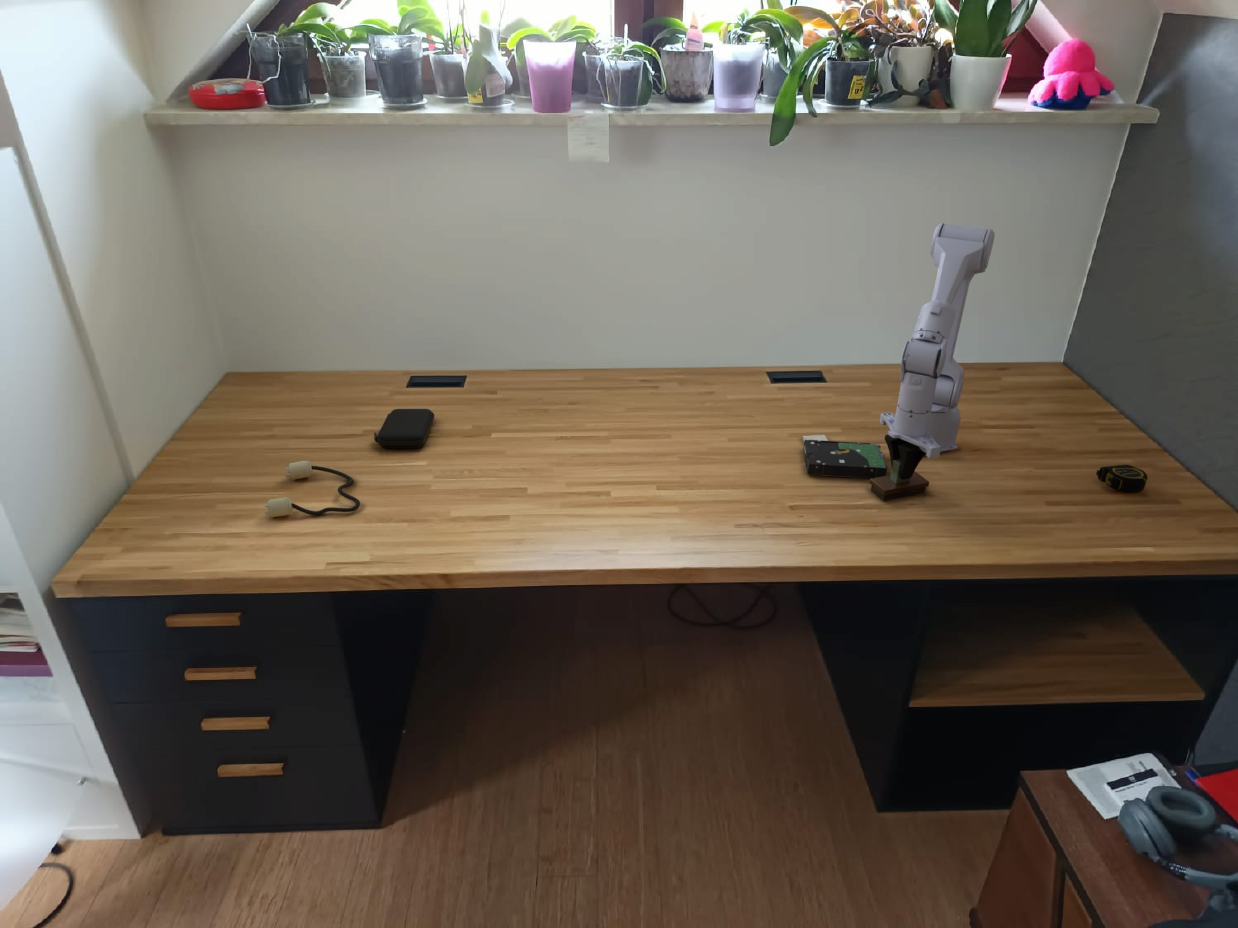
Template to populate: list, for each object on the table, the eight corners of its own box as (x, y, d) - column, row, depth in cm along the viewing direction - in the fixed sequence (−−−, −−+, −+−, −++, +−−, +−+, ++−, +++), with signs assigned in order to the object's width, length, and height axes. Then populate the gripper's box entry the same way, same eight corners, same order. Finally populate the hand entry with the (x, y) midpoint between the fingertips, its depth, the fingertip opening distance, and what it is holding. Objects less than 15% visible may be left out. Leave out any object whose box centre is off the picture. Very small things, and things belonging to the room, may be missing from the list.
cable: (372, 471, 165) (370, 455, 163) (357, 517, 151) (354, 500, 149) (288, 473, 164) (285, 457, 162) (264, 520, 149) (260, 503, 148)
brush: (911, 481, 163) (917, 451, 160) (927, 493, 159) (933, 462, 156) (868, 490, 160) (873, 459, 157) (882, 502, 156) (888, 471, 153)
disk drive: (806, 477, 164) (887, 480, 163) (808, 464, 163) (889, 467, 162) (802, 451, 174) (878, 454, 172) (803, 438, 172) (880, 441, 171)
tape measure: (1125, 477, 165) (1131, 460, 163) (1151, 496, 159) (1157, 478, 157) (1093, 480, 164) (1098, 463, 162) (1118, 499, 158) (1123, 481, 156)
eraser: (829, 441, 175) (828, 445, 176) (824, 434, 178) (824, 439, 178) (807, 442, 175) (806, 446, 175) (803, 435, 177) (802, 439, 178)
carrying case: (386, 418, 185) (370, 451, 172) (384, 405, 183) (368, 437, 170) (436, 418, 185) (424, 451, 172) (435, 405, 183) (423, 437, 171)
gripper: (870, 393, 156) (859, 460, 163) (921, 427, 144) (907, 498, 151) (903, 388, 158) (891, 454, 165) (956, 421, 146) (941, 491, 153)
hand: (901, 474), depth 158 cm, fingers closed on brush, 2 cm apart
